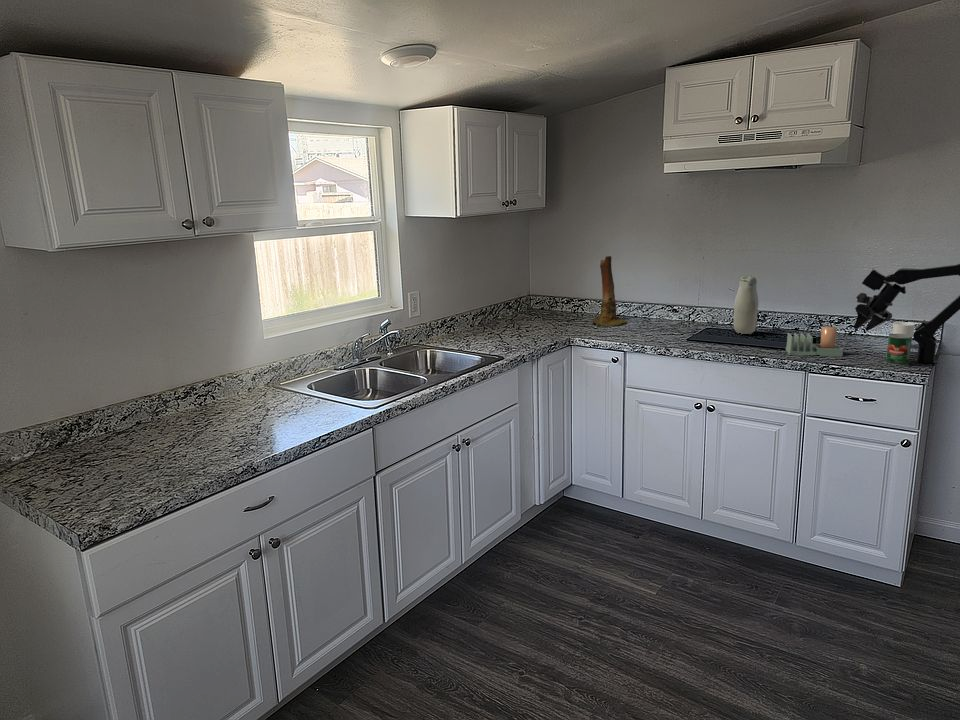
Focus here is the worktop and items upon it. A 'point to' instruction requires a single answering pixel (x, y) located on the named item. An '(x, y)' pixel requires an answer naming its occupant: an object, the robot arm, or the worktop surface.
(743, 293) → the glass bottle
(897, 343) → the canned tomato
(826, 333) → the orange rounded blob
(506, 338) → the worktop surface
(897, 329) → the white cup
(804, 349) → the dish rack
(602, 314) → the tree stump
